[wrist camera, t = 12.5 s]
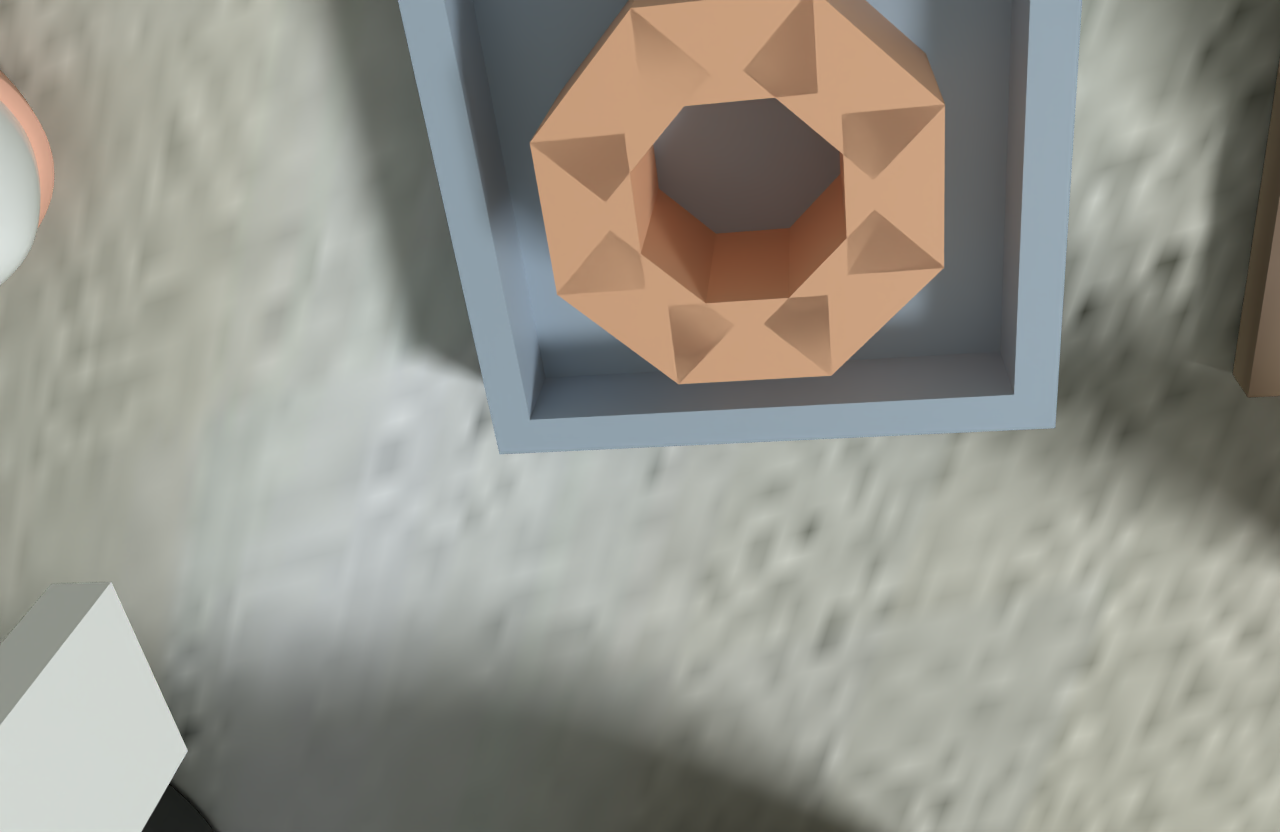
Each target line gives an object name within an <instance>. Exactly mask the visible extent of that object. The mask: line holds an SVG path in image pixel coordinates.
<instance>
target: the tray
mask: <svg viewBox="0 0 1280 832" xmlns="http://www.w3.org/2000/svg"><path fill="white" fill-rule="evenodd" d="M866 1H867V2H868V3H869V4H870V5H872V6H873V7H874V8H875V9H876V10H877V11H878V12H879V13H881V14H882V15H883V16H884V17H885V18H886V19H887V20H888V21H890V22H891V23H892V24H893V25H894V26H895V27H896V28H898V29H899V30H900V31H901V32H902V33H903V34H904V35H905V36H907V37H908V38H909V39H910V40H911V41H912V42H913V43H914V44H916V45H917V46H918V47H919V48H920V49H921V50H922V51H924V52H925V53H926V55H927V58H928V61H929V63H930V66H931V69H932V71H933V74H934V76H935V79H936V82H937V84H938V87H939V90H940V92H941V95H942V98H943V100H944V103H945V192H944V268H943V269H942V270H941V271H940V272H939V273H938V274H937V275H936V276H935V277H934V278H933V279H932V280H931V281H930V282H929V283H928V284H927V285H926V286H925V287H923V288H922V289H921V290H920V291H919V292H918V293H917V294H916V295H915V296H914V297H913V298H912V299H911V300H910V301H909V302H908V303H907V304H906V305H905V306H904V307H903V308H902V309H901V310H899V311H898V312H897V313H896V314H895V315H894V316H893V317H892V318H891V319H890V320H889V321H888V322H887V323H886V324H885V325H884V326H883V327H882V328H881V329H880V330H879V331H878V332H877V333H875V334H874V335H873V336H872V337H871V338H870V339H869V340H868V341H867V342H866V343H865V344H864V345H863V346H862V347H861V348H860V349H859V350H858V351H857V352H856V353H855V354H854V355H853V356H851V357H850V358H849V359H848V360H847V361H846V362H845V363H844V364H843V365H842V366H841V367H840V368H839V369H838V370H837V371H836V372H835V373H834V374H833V375H832V376H818V377H800V378H782V379H764V380H746V381H728V382H710V383H692V384H677V383H676V382H675V381H673V380H672V379H671V378H669V377H668V376H667V375H665V374H664V373H663V372H661V371H660V370H658V369H657V368H656V367H654V366H653V365H652V364H650V363H649V362H648V361H646V360H645V359H644V358H642V357H641V356H639V355H638V354H637V353H635V352H634V351H633V350H631V349H630V348H629V347H627V346H626V345H625V344H623V343H622V342H621V341H619V340H618V339H616V338H615V337H614V336H612V335H611V334H610V333H608V332H607V331H606V330H604V329H603V328H602V327H600V326H599V325H597V324H596V323H595V322H593V321H592V320H591V319H589V318H588V317H587V316H585V315H584V314H583V313H581V312H580V311H579V310H577V309H576V308H574V307H573V306H572V305H570V304H569V303H568V302H566V301H565V300H564V299H562V298H561V297H560V296H558V295H557V292H556V286H555V281H554V275H553V270H552V264H551V258H550V253H549V247H548V242H547V236H546V231H545V225H544V219H543V214H542V208H541V203H540V197H539V192H538V186H537V180H536V175H535V169H534V164H533V158H532V153H531V147H530V141H531V139H532V138H533V136H534V134H535V133H536V131H537V130H538V128H539V126H540V125H541V123H542V121H543V120H544V118H545V116H546V115H547V113H548V111H549V110H550V108H551V106H552V105H553V103H554V101H555V100H556V98H557V97H558V95H559V93H560V92H561V90H562V89H563V87H564V86H565V85H566V83H567V82H568V81H569V79H570V78H571V77H572V75H573V74H574V73H575V71H576V70H577V69H578V67H579V66H580V65H581V63H582V62H583V61H584V59H585V58H586V57H587V55H588V54H589V53H590V51H591V50H592V49H593V47H594V46H595V45H596V43H597V42H598V41H599V39H600V38H601V37H602V35H603V34H604V33H605V31H606V30H607V28H608V27H609V26H610V24H611V23H612V22H613V20H614V19H615V18H616V16H617V15H618V14H619V12H620V11H621V10H622V8H623V7H624V6H625V4H626V3H627V2H628V0H398V3H399V8H400V12H401V17H402V21H403V25H404V30H405V34H406V39H407V43H408V48H409V52H410V57H411V61H412V66H413V70H414V75H415V79H416V83H417V88H418V92H419V97H420V101H421V106H422V110H423V115H424V119H425V124H426V128H427V133H428V137H429V141H430V146H431V150H432V155H433V159H434V164H435V168H436V173H437V177H438V182H439V186H440V191H441V195H442V199H443V204H444V208H445V213H446V217H447V222H448V226H449V231H450V235H451V240H452V244H453V249H454V253H455V257H456V262H457V266H458V271H459V275H460V280H461V284H462V289H463V293H464V298H465V302H466V307H467V311H468V315H469V320H470V324H471V329H472V333H473V338H474V342H475V347H476V351H477V356H478V360H479V365H480V369H481V373H482V378H483V382H484V387H485V391H486V396H487V400H488V405H489V409H490V414H491V418H492V423H493V427H494V431H495V436H496V440H497V445H498V449H499V454H515V453H536V452H557V451H579V450H600V449H621V448H642V447H664V446H685V445H706V444H727V443H749V442H770V441H791V440H812V439H834V438H855V437H876V436H897V435H919V434H940V433H961V432H982V431H1004V430H1025V429H1046V428H1055V424H1056V408H1057V392H1058V376H1059V360H1060V345H1061V329H1062V313H1063V297H1064V281H1065V265H1066V249H1067V233H1068V217H1069V201H1070V185H1071V169H1072V153H1073V137H1074V121H1075V105H1076V89H1077V73H1078V57H1079V41H1080V25H1081V9H1082V0H866ZM653 145H654V153H655V161H656V169H657V177H658V185H659V189H660V190H661V191H662V192H664V193H665V194H666V195H668V196H669V197H670V198H671V199H673V200H674V201H675V202H676V203H678V204H679V205H680V206H682V207H683V208H684V209H685V210H687V211H688V212H689V213H690V214H692V215H693V216H694V217H696V218H697V219H698V220H699V221H701V222H702V223H703V224H704V225H706V226H707V227H708V228H710V229H711V230H712V231H713V232H715V233H716V234H718V233H731V232H744V231H757V230H770V229H783V228H790V227H791V226H792V225H793V224H794V223H795V222H796V221H797V219H798V218H799V217H800V216H801V215H802V214H803V213H804V212H805V211H806V210H807V209H808V208H809V207H810V206H811V204H812V203H813V202H814V201H815V200H816V199H817V198H818V197H819V196H820V195H821V194H822V193H823V192H824V191H825V189H826V188H827V187H828V186H829V185H830V184H831V183H832V182H833V181H834V180H835V179H836V178H837V177H838V176H839V174H840V154H839V151H838V150H837V149H836V148H835V147H834V146H832V145H831V144H830V143H829V142H828V141H826V140H825V139H824V138H823V137H822V136H820V135H819V134H818V133H817V132H816V131H814V130H813V129H812V128H811V127H810V126H808V125H807V124H806V123H805V122H804V121H803V120H801V119H800V118H799V117H798V116H797V115H795V114H794V113H793V112H792V111H791V110H789V109H788V108H787V107H786V106H785V105H783V104H782V103H781V102H780V101H779V100H777V99H776V98H766V99H755V100H745V101H734V102H723V103H713V104H702V105H692V106H684V107H683V108H682V110H681V111H680V112H679V113H678V114H677V116H676V117H675V118H674V119H673V121H672V122H671V123H670V124H669V125H668V127H667V128H666V129H665V130H664V132H663V133H662V134H661V135H660V136H659V138H658V139H657V140H656V141H655V143H654V144H653Z"/></svg>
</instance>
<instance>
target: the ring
mask: <svg viewBox="0 0 1280 832" xmlns="http://www.w3.org/2000/svg"><path fill="white" fill-rule="evenodd" d="M766 98H776V99H777V100H779V101H780V102H781V103H782V104H783V105H785V106H786V107H787V108H788V109H789V110H791V111H792V112H793V113H794V114H795V115H797V116H798V117H799V118H800V119H801V120H803V121H804V122H805V123H806V124H807V125H808V126H810V127H811V128H812V129H813V130H814V131H816V132H817V133H818V134H819V135H820V136H822V137H823V138H824V139H825V140H826V141H828V142H829V143H830V144H831V145H832V146H834V147H835V148H836V149H837V150H838V151H839V154H840V174H839V176H838V177H837V178H836V179H835V180H834V181H833V182H832V183H831V184H830V185H829V186H828V187H827V188H826V189H825V191H824V192H823V193H822V194H821V195H820V196H819V197H818V198H817V199H816V200H815V201H814V202H813V203H812V204H811V206H810V207H809V208H808V209H807V210H806V211H805V212H804V213H803V214H802V215H801V216H800V217H799V218H798V219H797V221H796V222H795V223H794V224H793V225H792V226H791V227H790V228H783V229H770V230H757V231H744V232H731V233H718V234H716V233H715V232H713V231H712V230H711V229H710V228H708V227H707V226H706V225H704V224H703V223H702V222H701V221H699V220H698V219H697V218H696V217H694V216H693V215H692V214H690V213H689V212H688V211H687V210H685V209H684V208H683V207H682V206H680V205H679V204H678V203H676V202H675V201H674V200H673V199H671V198H670V197H669V196H668V195H666V194H665V193H664V192H662V191H661V190H660V189H659V185H658V177H657V169H656V161H655V153H654V145H653V144H654V143H655V141H656V140H657V139H658V138H659V136H660V135H661V134H662V133H663V132H664V130H665V129H666V128H667V127H668V125H669V124H670V123H671V122H672V121H673V119H674V118H675V117H676V116H677V114H678V113H679V112H680V111H681V110H682V108H683V107H684V106H692V105H702V104H713V103H723V102H734V101H745V100H755V99H766ZM530 147H531V153H532V158H533V164H534V169H535V175H536V180H537V186H538V192H539V197H540V203H541V208H542V214H543V219H544V225H545V231H546V236H547V242H548V247H549V253H550V258H551V264H552V270H553V275H554V281H555V286H556V292H557V295H558V296H560V297H561V298H562V299H564V300H565V301H566V302H568V303H569V304H570V305H572V306H573V307H574V308H576V309H577V310H579V311H580V312H581V313H583V314H584V315H585V316H587V317H588V318H589V319H591V320H592V321H593V322H595V323H596V324H597V325H599V326H600V327H602V328H603V329H604V330H606V331H607V332H608V333H610V334H611V335H612V336H614V337H615V338H616V339H618V340H619V341H621V342H622V343H623V344H625V345H626V346H627V347H629V348H630V349H631V350H633V351H634V352H635V353H637V354H638V355H639V356H641V357H642V358H644V359H645V360H646V361H648V362H649V363H650V364H652V365H653V366H654V367H656V368H657V369H658V370H660V371H661V372H663V373H664V374H665V375H667V376H668V377H669V378H671V379H672V380H673V381H675V382H676V383H677V384H692V383H710V382H728V381H746V380H764V379H782V378H800V377H818V376H832V375H833V374H834V373H835V372H836V371H837V370H838V369H839V368H840V367H841V366H842V365H843V364H844V363H845V362H846V361H847V360H848V359H849V358H850V357H851V356H853V355H854V354H855V353H856V352H857V351H858V350H859V349H860V348H861V347H862V346H863V345H864V344H865V343H866V342H867V341H868V340H869V339H870V338H871V337H872V336H873V335H874V334H875V333H877V332H878V331H879V330H880V329H881V328H882V327H883V326H884V325H885V324H886V323H887V322H888V321H889V320H890V319H891V318H892V317H893V316H894V315H895V314H896V313H897V312H898V311H899V310H901V309H902V308H903V307H904V306H905V305H906V304H907V303H908V302H909V301H910V300H911V299H912V298H913V297H914V296H915V295H916V294H917V293H918V292H919V291H920V290H921V289H922V288H923V287H925V286H926V285H927V284H928V283H929V282H930V281H931V280H932V279H933V278H934V277H935V276H936V275H937V274H938V273H939V272H940V271H941V270H942V269H943V268H944V192H945V103H944V100H943V98H942V95H941V92H940V90H939V87H938V84H937V82H936V79H935V76H934V74H933V71H932V69H931V66H930V63H929V61H928V58H927V55H926V53H925V52H924V51H922V50H921V49H920V48H919V47H918V46H917V45H916V44H914V43H913V42H912V41H911V40H910V39H909V38H908V37H907V36H905V35H904V34H903V33H902V32H901V31H900V30H899V29H898V28H896V27H895V26H894V25H893V24H892V23H891V22H890V21H888V20H887V19H886V18H885V17H884V16H883V15H882V14H881V13H879V12H878V11H877V10H876V9H875V8H874V7H873V6H872V5H870V4H869V3H868V2H867V1H866V0H628V2H627V3H626V4H625V6H624V7H623V8H622V10H621V11H620V12H619V14H618V15H617V16H616V18H615V19H614V20H613V22H612V23H611V24H610V26H609V27H608V28H607V30H606V31H605V33H604V34H603V35H602V37H601V38H600V39H599V41H598V42H597V43H596V45H595V46H594V47H593V49H592V50H591V51H590V53H589V54H588V55H587V57H586V58H585V59H584V61H583V62H582V63H581V65H580V66H579V67H578V69H577V70H576V71H575V73H574V74H573V75H572V77H571V78H570V79H569V81H568V82H567V83H566V85H565V86H564V87H563V89H562V90H561V92H560V93H559V95H558V97H557V98H556V100H555V101H554V103H553V105H552V106H551V108H550V110H549V111H548V113H547V115H546V116H545V118H544V120H543V121H542V123H541V125H540V126H539V128H538V130H537V131H536V133H535V134H534V136H533V138H532V139H531V141H530Z"/></svg>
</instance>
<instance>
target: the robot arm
mask: <svg viewBox="0 0 1280 832" xmlns="http://www.w3.org/2000/svg"><path fill="white" fill-rule="evenodd" d="M187 752H188V750H187V748H186V746H185V743H184V741H183V739H182V737H181V735H180V732H179V730H178V728H177V726H176V723H175V721H174V719H173V717H172V715H171V712H170V710H169V708H168V706H167V704H166V701H165V699H164V697H163V695H162V693H161V690H160V688H159V686H158V684H157V682H156V679H155V677H154V675H153V673H152V671H151V668H150V666H149V664H148V662H147V660H146V657H145V655H144V653H143V651H142V648H141V646H140V644H139V642H138V640H137V637H136V635H135V633H134V631H133V629H132V626H131V624H130V622H129V620H128V618H127V615H126V613H125V611H124V609H123V607H122V604H121V602H120V600H119V598H118V596H117V593H116V591H115V589H114V587H113V585H112V582H92V583H63V584H51V585H50V586H49V587H48V588H47V590H46V591H45V592H44V593H43V594H42V596H41V597H40V598H39V599H38V600H37V602H36V603H35V604H34V605H33V606H32V607H31V609H30V610H29V611H28V612H27V613H26V615H25V616H24V617H23V618H22V619H21V621H20V622H19V623H18V624H17V625H16V626H15V628H14V629H13V630H12V631H11V632H10V634H9V635H8V636H7V637H6V638H5V640H4V641H3V642H2V643H1V644H0V832H214V831H213V830H212V829H211V827H210V826H209V824H208V823H207V822H206V821H205V819H204V818H203V817H202V816H201V815H200V813H199V812H198V811H197V810H196V809H195V808H194V807H193V806H192V805H191V804H190V803H189V802H188V801H187V800H186V799H185V798H184V797H183V796H182V795H181V794H179V793H178V792H177V791H176V790H175V789H174V788H172V787H171V786H170V785H169V783H170V781H171V779H172V778H173V776H174V774H175V772H176V771H177V769H178V767H179V766H180V764H181V762H182V760H183V759H184V757H185V755H186V753H187Z"/></svg>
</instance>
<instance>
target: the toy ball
mask: <svg viewBox="0 0 1280 832" xmlns="http://www.w3.org/2000/svg"><path fill="white" fill-rule="evenodd" d="M53 186H54V163H53V157H52V152H51V148H50V145H49V142H48V139H47V137H46V134H45V132H44V130H43V128H42V126H41V124H40V122H39V121H38V119H37V117H36V115H35V114H34V112H33V110H32V109H31V107H30V106H29V104H28V103H27V101H26V100H25V99H24V97H23V96H22V94H21V93H20V92H19V90H18V89H17V88H16V87H15V86H14V84H13V83H12V82H11V81H10V80H9V79H8V78H7V77H6V76H5V75H4V74H3V73H2V72H1V71H0V286H1V285H2V284H3V283H4V282H5V281H6V280H7V279H8V278H9V277H10V276H11V275H12V274H13V273H14V272H15V271H16V270H17V269H18V267H19V266H20V265H21V264H22V262H23V261H24V260H25V258H26V257H27V255H28V253H29V251H30V249H31V247H32V245H33V242H34V240H35V237H36V233H37V229H38V227H39V226H40V224H41V222H42V220H43V218H44V216H45V214H46V212H47V209H48V207H49V204H50V201H51V197H52V192H53Z"/></svg>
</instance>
